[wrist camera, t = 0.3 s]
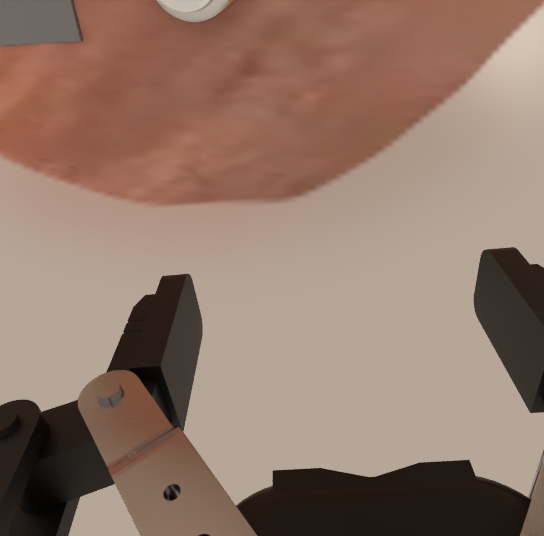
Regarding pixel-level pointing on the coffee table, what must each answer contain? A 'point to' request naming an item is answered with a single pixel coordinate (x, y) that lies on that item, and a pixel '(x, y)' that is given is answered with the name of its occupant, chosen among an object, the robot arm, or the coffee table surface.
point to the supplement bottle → (194, 8)
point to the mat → (38, 22)
